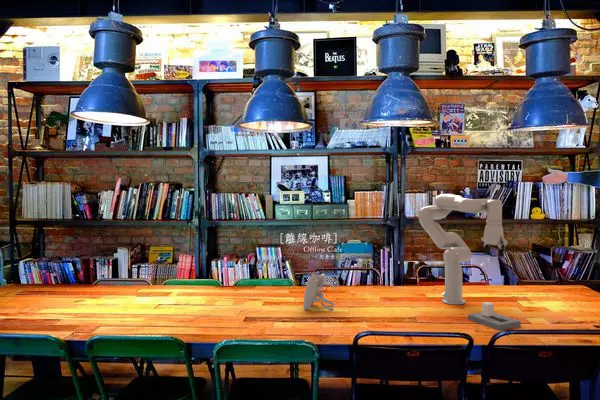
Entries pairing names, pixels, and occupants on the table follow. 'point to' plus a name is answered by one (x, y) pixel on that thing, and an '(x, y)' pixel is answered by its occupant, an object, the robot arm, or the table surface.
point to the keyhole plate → (494, 321)
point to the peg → (487, 309)
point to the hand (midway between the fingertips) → (493, 255)
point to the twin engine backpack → (316, 291)
